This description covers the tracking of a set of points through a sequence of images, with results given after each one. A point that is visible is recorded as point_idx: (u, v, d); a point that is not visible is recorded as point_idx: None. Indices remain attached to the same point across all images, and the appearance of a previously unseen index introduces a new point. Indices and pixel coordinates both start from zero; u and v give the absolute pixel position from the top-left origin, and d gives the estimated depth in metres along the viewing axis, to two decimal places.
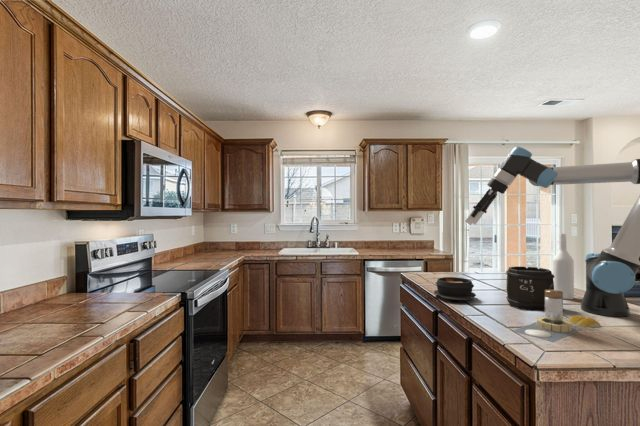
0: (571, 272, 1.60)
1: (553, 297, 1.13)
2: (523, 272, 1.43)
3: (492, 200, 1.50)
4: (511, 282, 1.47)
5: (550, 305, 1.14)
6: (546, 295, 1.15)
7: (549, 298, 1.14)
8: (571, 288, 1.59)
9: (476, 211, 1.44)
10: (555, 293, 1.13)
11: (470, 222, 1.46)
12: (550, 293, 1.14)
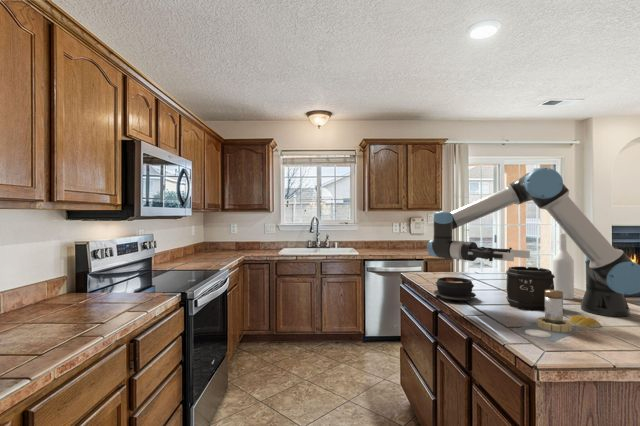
0: (571, 272, 1.60)
1: (553, 297, 1.13)
2: (523, 272, 1.43)
3: (487, 248, 1.34)
4: (511, 282, 1.47)
5: (550, 305, 1.14)
6: (546, 295, 1.15)
7: (549, 298, 1.14)
8: (571, 288, 1.59)
9: (493, 255, 1.23)
10: (555, 293, 1.13)
11: (510, 255, 1.19)
12: (550, 293, 1.14)
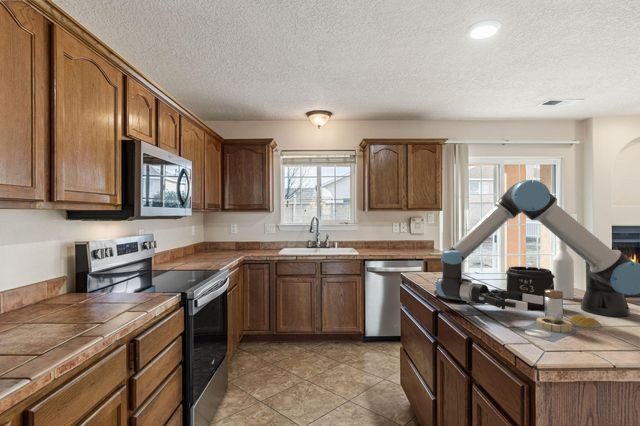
0: (571, 272, 1.60)
1: (553, 297, 1.13)
2: (523, 272, 1.43)
3: (499, 291, 1.31)
4: (511, 282, 1.47)
5: (550, 305, 1.14)
6: (546, 295, 1.15)
7: (549, 298, 1.14)
8: (571, 288, 1.59)
9: (505, 303, 1.19)
10: (555, 293, 1.13)
11: (523, 304, 1.15)
12: (550, 293, 1.14)
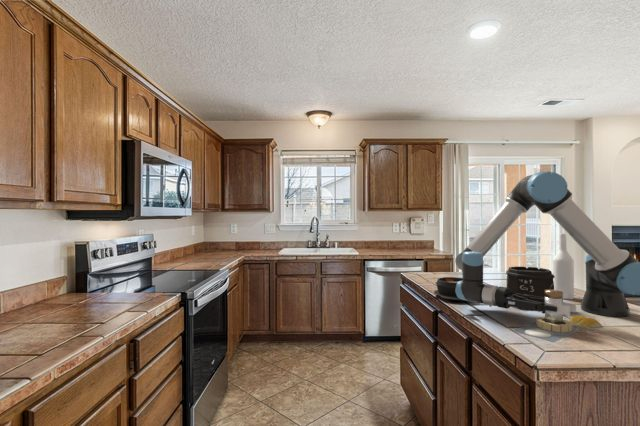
0: (571, 272, 1.60)
1: (553, 297, 1.13)
2: (523, 272, 1.43)
3: (523, 295, 1.23)
4: (511, 282, 1.47)
5: None
6: (546, 295, 1.15)
7: (549, 298, 1.14)
8: (571, 288, 1.59)
9: (546, 307, 1.13)
10: (555, 293, 1.13)
11: (566, 308, 1.10)
12: (550, 293, 1.14)
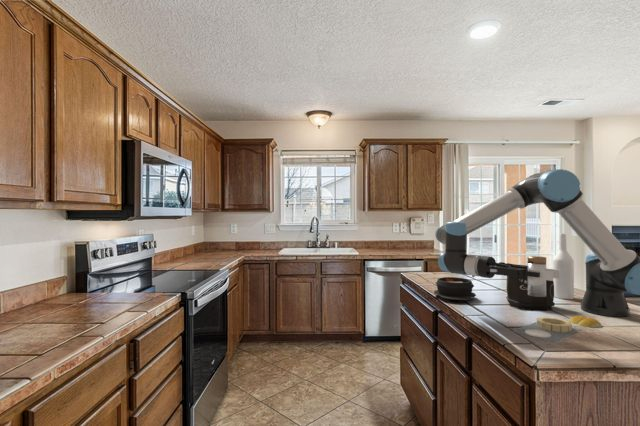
0: (571, 272, 1.60)
1: (536, 263, 1.08)
2: None
3: (507, 264, 1.18)
4: (511, 282, 1.47)
5: None
6: (529, 261, 1.10)
7: (532, 264, 1.09)
8: (571, 288, 1.59)
9: (528, 273, 1.08)
10: (538, 258, 1.08)
11: (549, 273, 1.04)
12: (533, 259, 1.08)
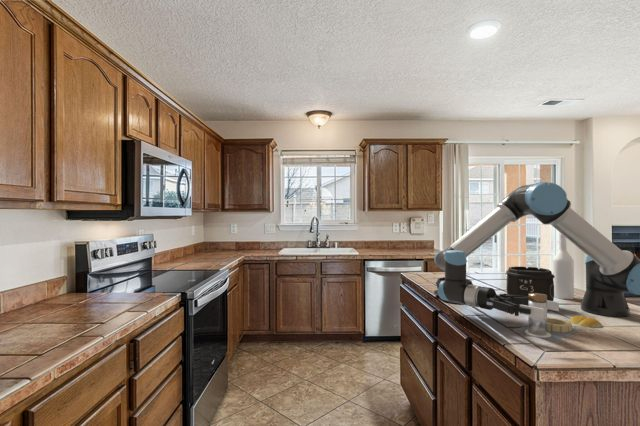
0: (571, 272, 1.60)
1: (537, 301, 1.07)
2: (523, 272, 1.43)
3: (508, 295, 1.18)
4: (511, 282, 1.47)
5: None
6: (530, 299, 1.09)
7: (533, 302, 1.08)
8: (571, 288, 1.59)
9: (519, 309, 1.06)
10: (539, 297, 1.07)
11: (540, 310, 1.03)
12: (534, 297, 1.08)
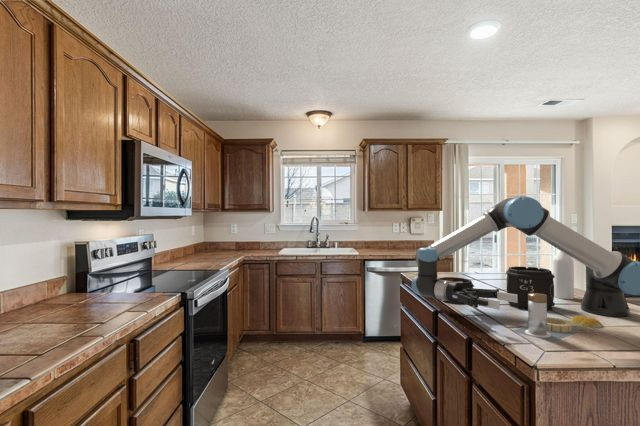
0: (571, 272, 1.60)
1: (536, 301, 1.07)
2: (523, 272, 1.43)
3: (473, 289, 1.27)
4: (511, 282, 1.47)
5: (534, 309, 1.08)
6: (529, 299, 1.09)
7: (532, 302, 1.08)
8: (571, 288, 1.59)
9: (478, 301, 1.15)
10: (538, 297, 1.07)
11: (495, 302, 1.12)
12: (533, 297, 1.08)
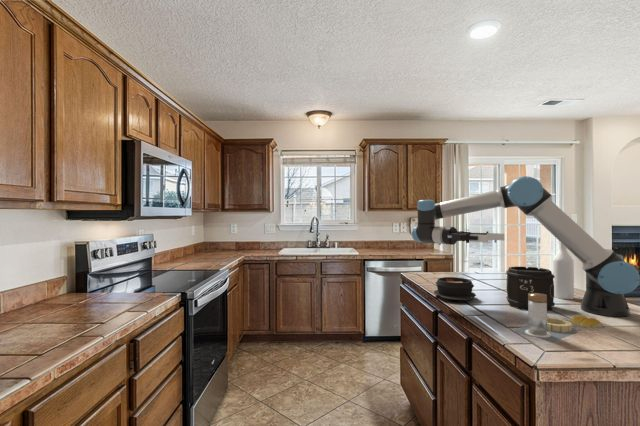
0: (571, 272, 1.60)
1: (536, 301, 1.07)
2: (523, 272, 1.43)
3: (466, 232, 1.45)
4: (511, 282, 1.47)
5: (534, 309, 1.08)
6: (529, 299, 1.09)
7: (532, 302, 1.08)
8: (571, 288, 1.59)
9: (469, 237, 1.33)
10: (539, 297, 1.07)
11: (484, 236, 1.30)
12: (533, 297, 1.08)
